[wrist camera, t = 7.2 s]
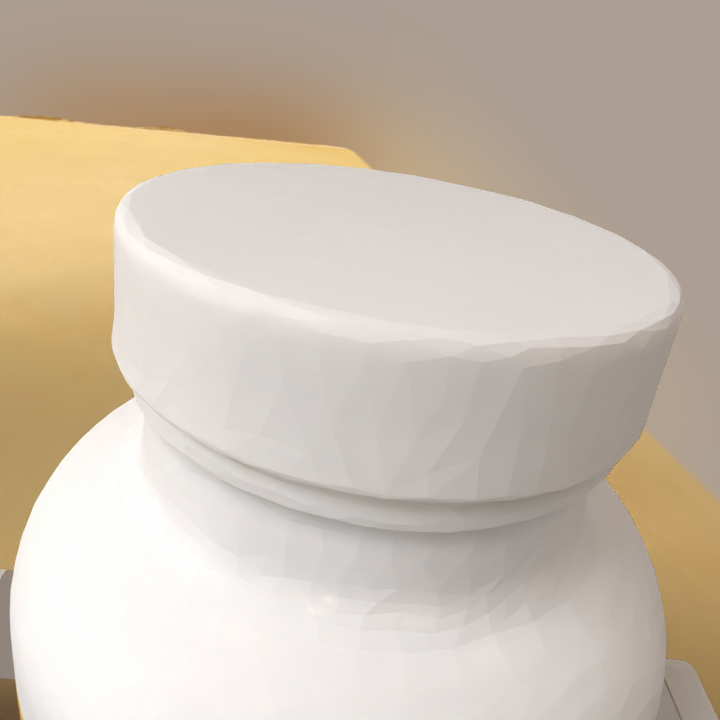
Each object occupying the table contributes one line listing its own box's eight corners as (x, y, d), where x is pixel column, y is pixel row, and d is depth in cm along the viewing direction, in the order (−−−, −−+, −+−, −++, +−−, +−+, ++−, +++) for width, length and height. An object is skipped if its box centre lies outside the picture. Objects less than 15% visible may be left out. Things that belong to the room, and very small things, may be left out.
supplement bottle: (296, 705, 16) (385, 136, 10) (542, 968, 12) (913, 291, 6) (-10, 941, 11) (-168, 139, 5) (229, 1493, 7) (559, 749, 2)
